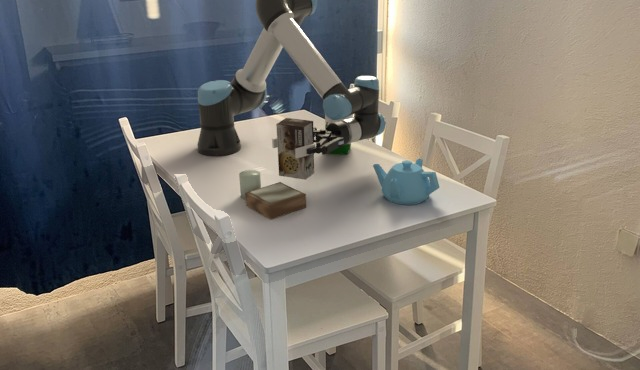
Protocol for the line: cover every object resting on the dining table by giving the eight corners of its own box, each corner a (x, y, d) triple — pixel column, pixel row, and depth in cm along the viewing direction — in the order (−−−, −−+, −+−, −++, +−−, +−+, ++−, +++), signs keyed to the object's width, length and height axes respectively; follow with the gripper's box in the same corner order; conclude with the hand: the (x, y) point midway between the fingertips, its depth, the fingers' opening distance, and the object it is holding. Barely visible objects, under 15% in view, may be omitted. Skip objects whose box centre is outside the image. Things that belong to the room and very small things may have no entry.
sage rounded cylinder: (236, 195, 185) (235, 173, 182) (254, 190, 188) (252, 168, 186) (248, 202, 181) (246, 179, 178) (265, 196, 184) (264, 174, 181)
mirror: (246, 205, 178) (245, 191, 176) (280, 194, 185) (280, 181, 183) (270, 219, 169) (269, 204, 168) (306, 207, 176) (305, 193, 175)
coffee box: (315, 173, 188) (314, 120, 181) (305, 180, 182) (304, 126, 176) (287, 168, 191) (286, 117, 185) (277, 175, 186) (275, 123, 179)
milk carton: (328, 146, 225) (327, 90, 217) (353, 147, 223) (353, 91, 216) (323, 154, 217) (322, 97, 209) (349, 155, 215) (349, 98, 208)
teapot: (388, 210, 173) (389, 174, 169) (371, 190, 187) (372, 155, 183) (440, 204, 177) (442, 168, 172) (420, 184, 190) (421, 150, 186)
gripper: (368, 154, 187) (309, 172, 174) (319, 135, 203) (262, 150, 190) (368, 129, 184) (309, 146, 171) (318, 112, 200) (261, 126, 187)
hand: (284, 148), depth 181 cm, fingers closed on coffee box, 10 cm apart
